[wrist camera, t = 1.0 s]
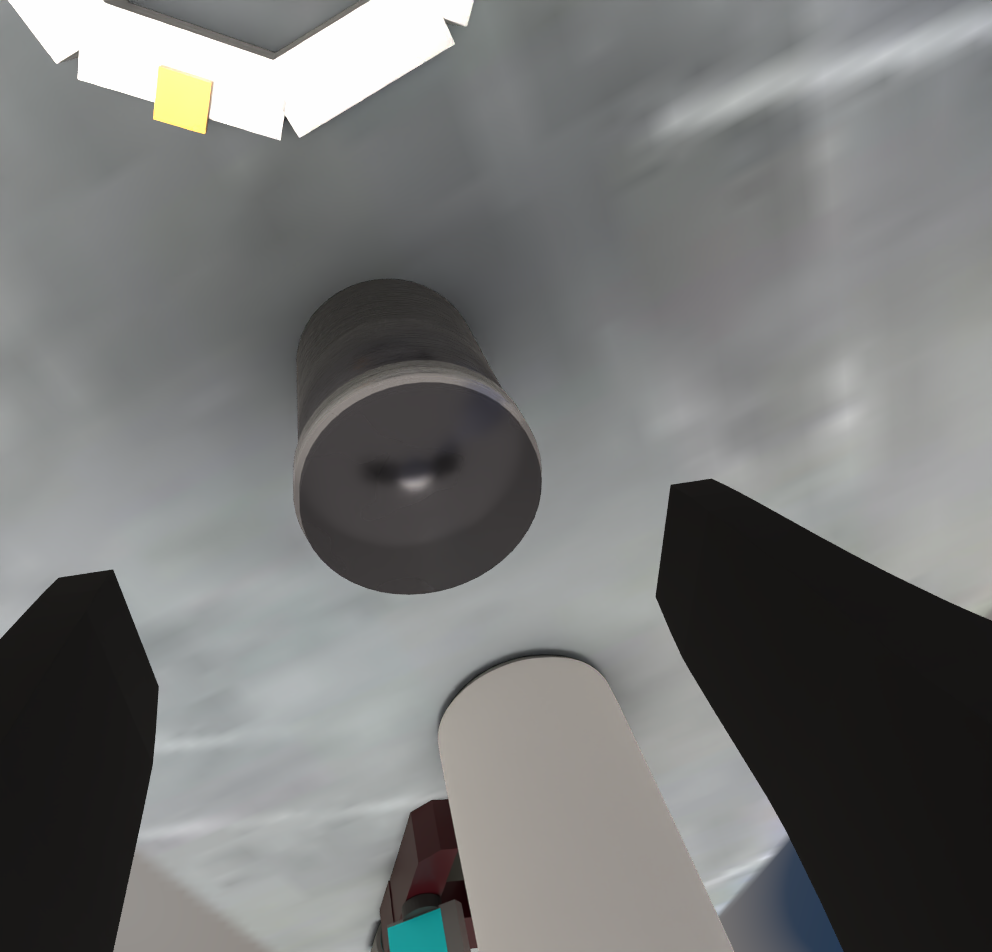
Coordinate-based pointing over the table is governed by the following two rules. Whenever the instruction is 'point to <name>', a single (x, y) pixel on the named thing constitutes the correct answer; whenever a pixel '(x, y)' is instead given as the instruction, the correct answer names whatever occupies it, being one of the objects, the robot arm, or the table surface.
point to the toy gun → (426, 889)
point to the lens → (407, 443)
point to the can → (565, 820)
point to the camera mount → (243, 59)
